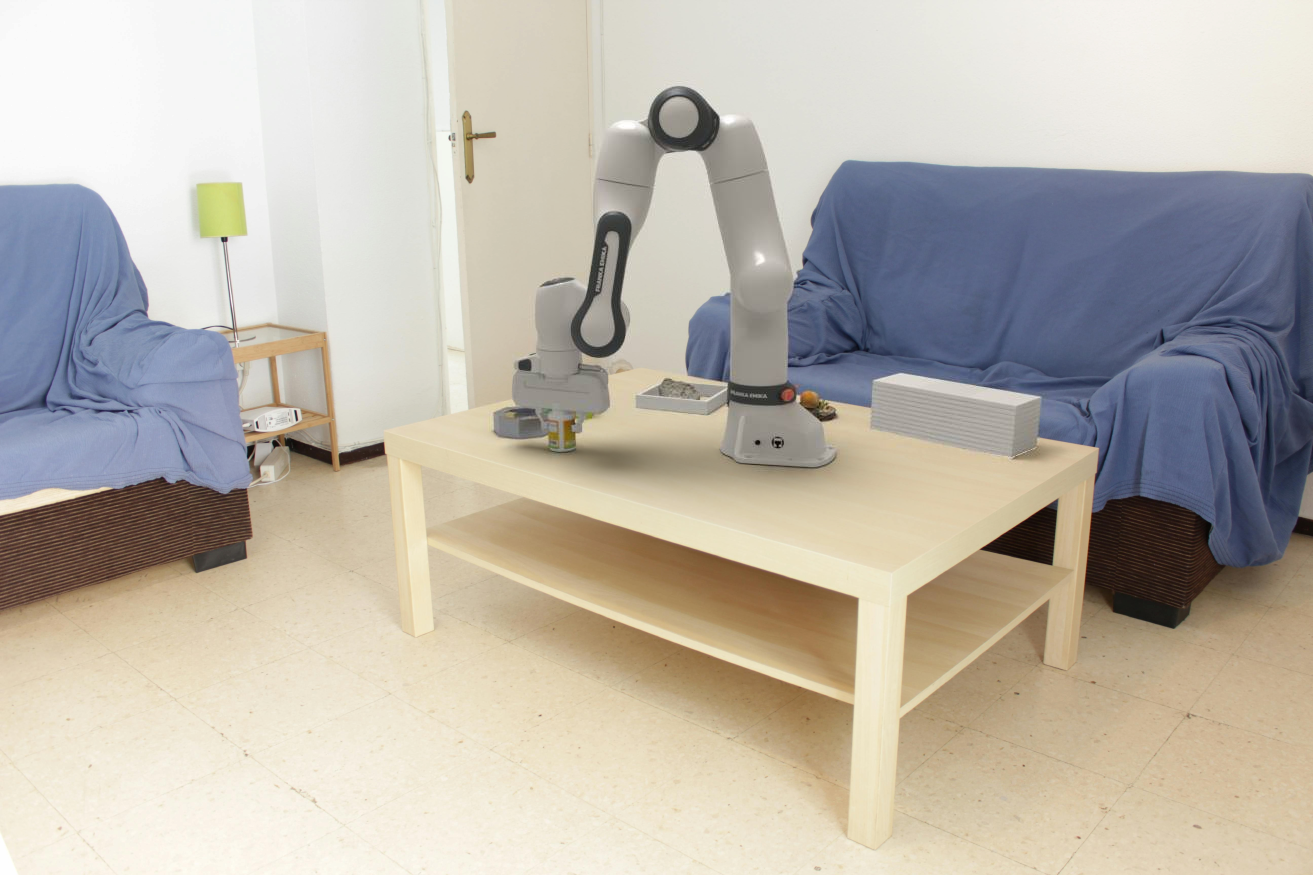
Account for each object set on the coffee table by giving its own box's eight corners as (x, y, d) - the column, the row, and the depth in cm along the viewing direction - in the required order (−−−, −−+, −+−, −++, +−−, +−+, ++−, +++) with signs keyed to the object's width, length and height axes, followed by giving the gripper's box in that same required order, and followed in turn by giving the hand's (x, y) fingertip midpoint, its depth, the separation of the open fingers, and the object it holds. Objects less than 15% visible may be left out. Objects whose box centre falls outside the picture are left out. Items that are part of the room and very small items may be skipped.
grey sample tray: (732, 398, 242) (733, 386, 241) (706, 414, 226) (707, 401, 225) (665, 391, 248) (665, 379, 247) (635, 407, 233) (635, 394, 232)
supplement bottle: (576, 444, 202) (575, 397, 200) (575, 452, 197) (573, 404, 194) (549, 445, 202) (548, 398, 199) (547, 452, 197) (546, 404, 194)
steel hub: (561, 427, 216) (560, 404, 214) (533, 440, 205) (533, 416, 204) (514, 421, 220) (513, 399, 219) (485, 434, 210) (484, 411, 209)
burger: (842, 413, 228) (844, 381, 226) (827, 425, 218) (828, 392, 216) (792, 408, 233) (793, 376, 231) (774, 419, 223) (775, 386, 221)
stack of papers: (1036, 449, 200) (1042, 396, 197) (1011, 460, 193) (1016, 405, 190) (897, 420, 222) (900, 372, 219) (869, 429, 215) (872, 380, 212)
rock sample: (657, 395, 228) (669, 364, 232) (647, 410, 235) (660, 380, 239) (699, 414, 229) (711, 383, 233) (689, 429, 236) (700, 399, 240)
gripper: (614, 363, 194) (616, 432, 197) (523, 355, 202) (525, 422, 205) (600, 369, 188) (601, 440, 192) (506, 361, 196) (509, 429, 200)
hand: (561, 431), depth 199 cm, fingers closed on supplement bottle, 5 cm apart
